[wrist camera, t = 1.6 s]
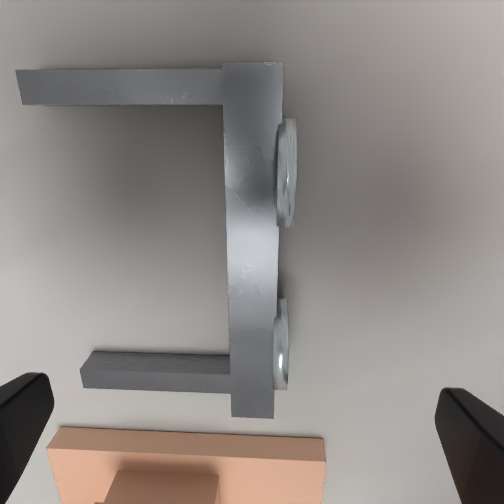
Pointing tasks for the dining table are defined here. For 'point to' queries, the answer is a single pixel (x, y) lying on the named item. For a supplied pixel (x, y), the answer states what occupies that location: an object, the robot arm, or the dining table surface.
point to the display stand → (185, 468)
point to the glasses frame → (237, 222)
